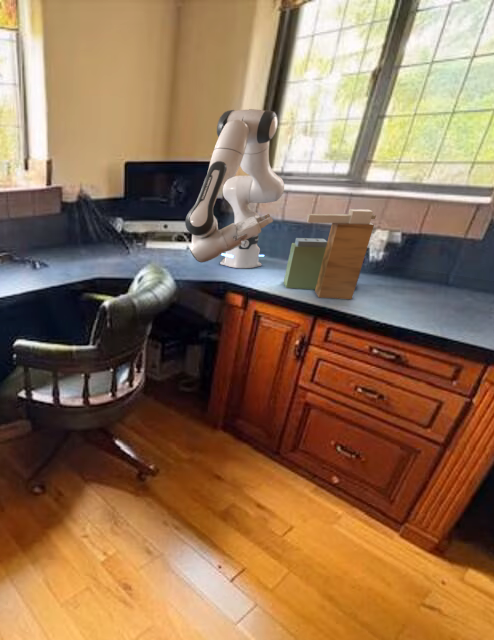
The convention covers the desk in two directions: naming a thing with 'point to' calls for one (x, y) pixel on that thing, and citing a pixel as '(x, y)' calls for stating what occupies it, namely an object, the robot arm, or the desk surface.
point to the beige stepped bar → (343, 217)
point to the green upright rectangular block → (304, 263)
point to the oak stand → (343, 260)
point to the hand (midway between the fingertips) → (271, 217)
